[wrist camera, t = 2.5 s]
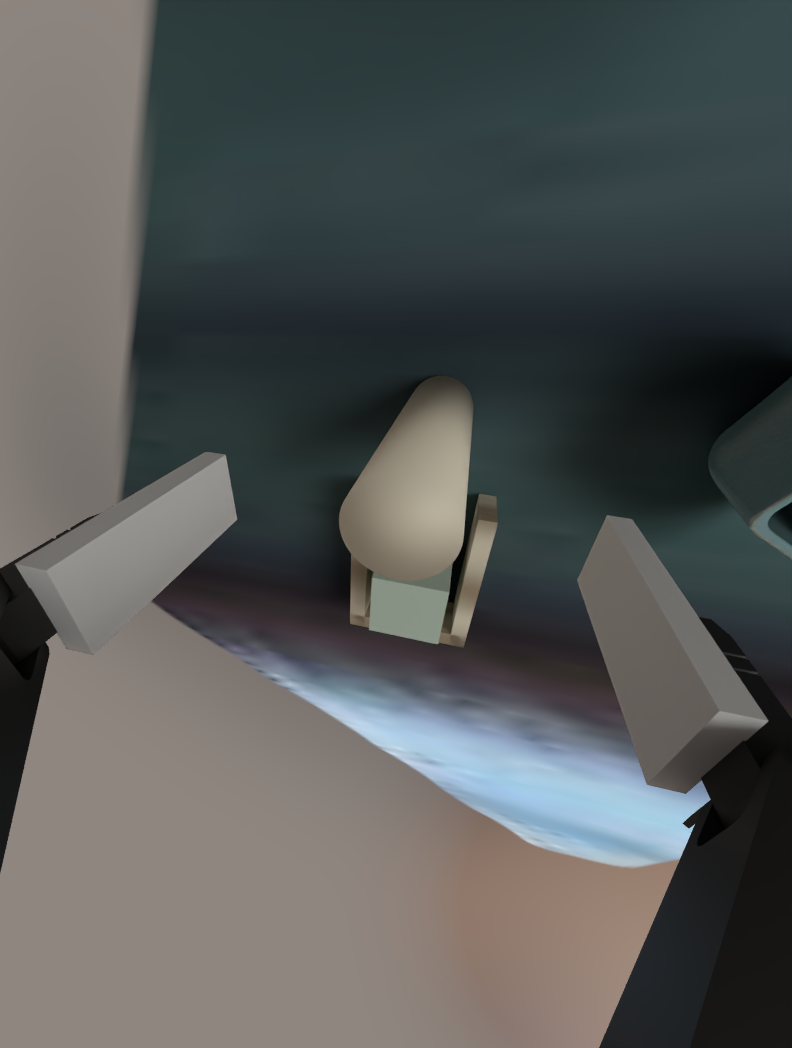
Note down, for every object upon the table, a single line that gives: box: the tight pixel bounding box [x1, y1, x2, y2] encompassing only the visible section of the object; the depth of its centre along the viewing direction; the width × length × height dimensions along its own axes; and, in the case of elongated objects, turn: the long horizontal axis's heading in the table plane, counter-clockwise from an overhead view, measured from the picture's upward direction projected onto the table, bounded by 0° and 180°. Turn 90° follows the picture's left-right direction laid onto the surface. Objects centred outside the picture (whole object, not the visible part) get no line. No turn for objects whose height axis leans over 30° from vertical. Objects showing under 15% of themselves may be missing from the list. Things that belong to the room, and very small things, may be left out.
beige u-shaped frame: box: [350, 494, 498, 647], centre depth 28 cm, size 12×9×4 cm
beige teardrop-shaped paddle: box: [339, 376, 473, 644], centre depth 21 cm, size 16×5×14 cm, turn 175°
